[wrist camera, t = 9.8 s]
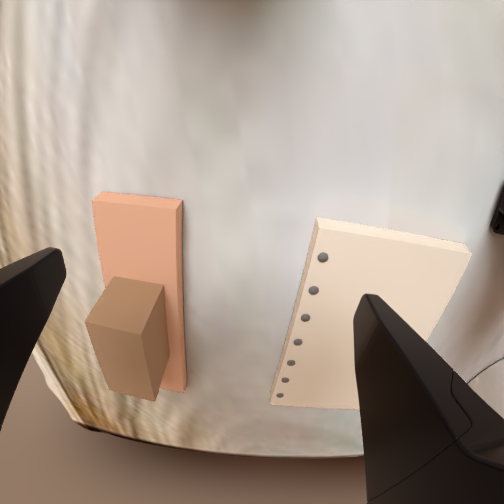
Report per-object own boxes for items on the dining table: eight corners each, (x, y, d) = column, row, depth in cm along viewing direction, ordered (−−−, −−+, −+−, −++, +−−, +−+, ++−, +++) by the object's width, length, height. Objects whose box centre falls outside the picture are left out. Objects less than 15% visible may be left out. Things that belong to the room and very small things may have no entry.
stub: (182, 199, 20) (147, 253, 15) (186, 381, 31) (173, 434, 25) (102, 191, 20) (50, 237, 15) (133, 369, 31) (114, 419, 25)
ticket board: (463, 243, 20) (473, 255, 19) (376, 397, 31) (378, 409, 30) (316, 217, 20) (319, 228, 19) (270, 392, 31) (269, 405, 30)
